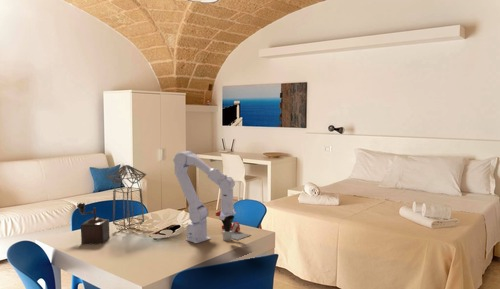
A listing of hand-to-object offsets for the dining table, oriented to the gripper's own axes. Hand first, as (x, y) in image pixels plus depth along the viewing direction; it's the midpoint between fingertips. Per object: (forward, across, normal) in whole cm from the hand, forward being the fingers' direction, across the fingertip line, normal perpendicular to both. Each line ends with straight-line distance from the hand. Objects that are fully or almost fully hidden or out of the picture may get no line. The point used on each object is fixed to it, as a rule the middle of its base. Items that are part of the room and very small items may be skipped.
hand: (227, 231), depth 192 cm
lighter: (+6, +4, 0) cm, 7 cm away
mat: (+5, +11, -1) cm, 12 cm away
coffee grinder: (+6, -17, +65) cm, 68 cm away
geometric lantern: (+6, +2, +58) cm, 58 cm away
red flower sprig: (+6, +18, +7) cm, 20 cm away
